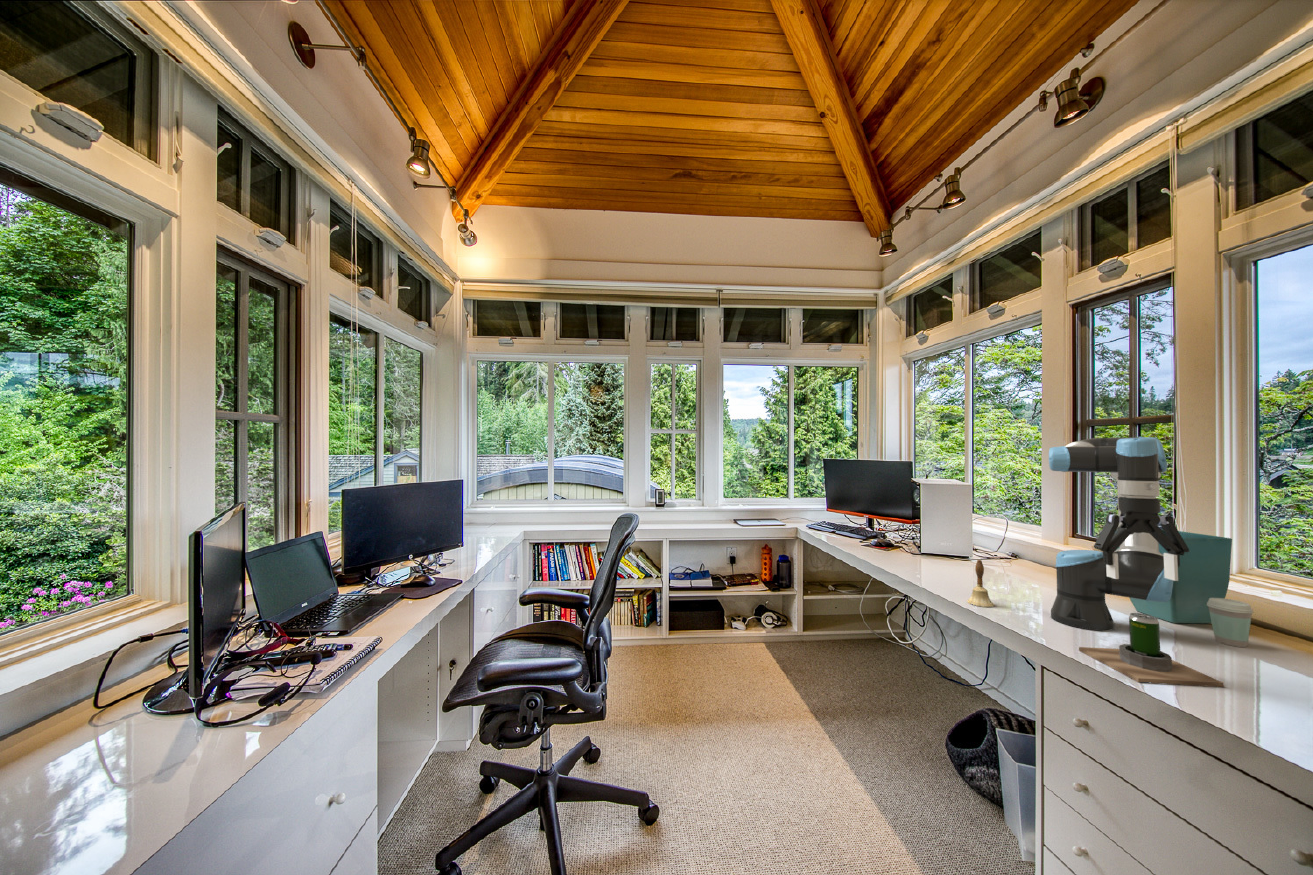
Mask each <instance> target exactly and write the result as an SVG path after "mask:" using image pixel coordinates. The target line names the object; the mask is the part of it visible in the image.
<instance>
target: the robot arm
mask: <svg viewBox="0 0 1313 875" xmlns="http://www.w3.org/2000/svg"><path fill="white" fill-rule="evenodd" d="M1167 463H1168V462H1167V459H1166V453H1165V450H1164V446H1163V444H1162V442H1161V440H1160V439H1159V438H1157V437H1151V436H1149V437H1148V436H1147V437H1145V436H1144V437H1143V436H1133V437H1131V436H1130V437H1092V438H1086V439H1081V440H1076V441H1072V442H1070V443H1068V444H1066V445H1063V446H1062V445H1061V446H1053V447H1050V448H1049V450H1048V465H1049V466H1048V467H1049V469H1050V471H1053V472H1062V473H1068V472H1069V473H1070V472H1071V473H1074V472H1075V473H1082V472H1083V473H1110V476H1111V477H1112V478H1113V479H1114V480H1116V483H1117V484H1116V485H1117V486H1116V487H1117V490H1116V491H1117V509H1118V511H1117V513H1118V515H1115V514H1107V515H1106V518H1105V523H1104V525H1103V527H1102V530H1101V532H1100V533H1099V534H1098V537H1097V538H1096V541H1095V543H1094V544H1093V548H1094V549H1096V550H1093V549H1069V550H1061V551H1059V552H1057V553H1056V556H1055V557H1056V558H1055V568H1056V596H1055V599H1054V601H1053V604H1052V606H1051V608H1050V618H1051V619H1052V620H1054V621H1056V622H1058V623H1060V624H1064V625H1067V626H1070V627H1075V628H1079V629H1085V630H1091V631H1113V630H1114V629H1115V625H1114V624H1115V623H1114V619H1113V616H1112V614H1111V612H1110V609H1109V607H1108V605H1107V603H1106V595H1110V596H1117V597H1124V598H1128V599H1130V598H1135V599H1141V600H1146V601H1156V602H1167V601H1169V600H1170V599H1171V594H1172V588H1173V580H1174V581H1178V567H1179V566H1180V555H1184V554H1185V553H1184V552H1189V548H1188V547H1187V545H1186V543H1185V542H1184V540H1183V538H1182V537H1181V535H1180V533H1179V532H1178V531H1179V530H1178V528H1177V527H1176V525H1175V520H1174V517H1173V516H1172V515H1164V514H1160V515H1159V513H1160V512H1161V500H1160V499H1159V498H1157V497H1159V496H1160V495H1161V494H1160V478H1161V477H1162V473H1166V472H1167V471H1168V464H1167ZM1158 524H1160V526H1161V527H1160V526H1159V525H1158ZM1161 529H1163V530H1164V532H1165V533H1166V535H1167V536H1166V535H1165V534H1164V533H1163V531H1162V530H1161ZM1116 530H1118V531H1117V532H1116ZM1115 532H1116V533H1115ZM1159 544H1160V545H1161V546H1162V547H1163V548H1164V549H1165V550H1166V551H1167V552H1168V553H1164V555H1163V554H1161V553H1160V552H1159ZM1119 546H1120V548H1119V549H1117V548H1118V547H1119ZM1116 549H1117V550H1116Z"/></svg>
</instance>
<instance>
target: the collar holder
mask: <svg viewBox="0 0 1313 875" xmlns="http://www.w3.org/2000/svg"><path fill="white" fill-rule="evenodd" d="M1078 651H1079V652H1080V653H1082V654H1084V655H1086V656H1088V657H1090V658H1092V659H1094V660H1096V661H1098V662H1099V663H1101V664H1102V665H1103V664H1104V665H1105V666H1107V667H1109V668H1111V669H1112V670H1114V671H1116V672H1117V673H1120V674H1122V675H1124V676H1125V677H1128V678H1130V679H1131V680H1133V681H1135V682H1136V683H1140V682H1151V683H1150V684H1158V683H1167V684H1166V685H1176V684H1180V685H1181V686H1197V687H1213V686H1215V687H1216V688H1217V687H1218V688H1224V687H1225V686H1224V682H1222V681H1220V680H1219V679H1216V678H1213V677H1211V676H1209V675H1207V674H1205V673H1202V672H1200V671H1199V670H1195V669H1194V668H1192V667H1189V666H1188V665H1184V664H1182V663H1180V662H1177V661H1175V660H1174V659H1173V658H1172V656H1171V655H1170V654H1168V653H1166V652H1165V651H1161V650H1160V652H1161V658H1157V657H1149V656H1143V655H1140V654H1136V653H1133V652H1131V649H1130V643H1129V644H1128V643H1124V644H1123V643H1122V644H1119V645H1118V648H1110V647H1108V648H1104V647H1084V646H1078ZM1180 685H1179V686H1180ZM1199 685H1200V686H1199Z"/></svg>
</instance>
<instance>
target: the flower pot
mask: <svg viewBox="0 0 1313 875" xmlns="http://www.w3.org/2000/svg"><path fill="white" fill-rule="evenodd" d="M1160 529H1161V530H1162V531H1163V533H1164V534H1165V535H1166V533H1165V532H1164V530H1163V528H1160ZM1117 531H1118V530H1116V532H1117ZM1116 532H1115V533H1116ZM1178 532H1179V533H1180V535H1181V537H1182V538H1183V540H1184V542H1185V543H1186V545H1187V547H1188V548H1189V552H1184V553H1185V554H1184V555H1180V566H1179V567H1178V581H1174V580H1173V588H1172V594H1171V599H1170V600H1169V601H1167V602H1156V601H1146V600H1141V599H1135V598H1129V600H1130V602H1131V604H1132V606H1133V607H1134V609H1135V611H1137V613H1138V612H1139V613H1140V614H1146V615H1151V616H1154V617H1156V618H1158V619H1161V620H1164V621H1167V622H1169V623H1172V624H1212V622H1211V617H1210V612H1209V607H1208V606H1207V602H1208V600H1209V598H1224V599H1226V596H1227V593H1228V588H1229V585H1230V579H1231V578H1230V576H1231V563H1232V561H1231V560H1232V545H1233V539H1232V538H1230V537H1223V536H1218V535H1211V534H1203V533H1196V532H1189V531H1182V530H1181V531H1180V530H1178ZM1166 536H1167V535H1166ZM1119 548H1120V546H1119V547H1118V548H1117V549H1119ZM1117 549H1116V550H1117ZM1159 552H1160V553H1161V554H1163V555H1164V553H1168V552H1167V551H1166V550H1165V549H1164V548H1163V547H1162V546H1161V545H1160V544H1159Z"/></svg>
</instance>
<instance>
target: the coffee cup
mask: <svg viewBox="0 0 1313 875" xmlns="http://www.w3.org/2000/svg"><path fill="white" fill-rule="evenodd" d="M1207 606H1208V607H1209V612H1210V617H1211V622H1212V623H1211V626H1212V631H1213V634H1214V635H1213V636H1214V639H1215V640H1214V641H1215V642H1218V643H1219V642H1220V643H1219V644H1222V645H1226V646H1230V647H1235V646H1236V647H1237V648H1247V647H1248V645H1249V644H1248V643H1249V638H1250V637H1249V635H1250V631H1251V630H1250V629H1251V622H1252V614H1253V613H1254V610H1253V608H1252V606H1251V604H1249V603H1247V602H1243V601H1240V600H1235V599H1230V598H1229V599H1228V598H1225V599H1224V598H1209V600H1208V602H1207Z"/></svg>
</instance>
